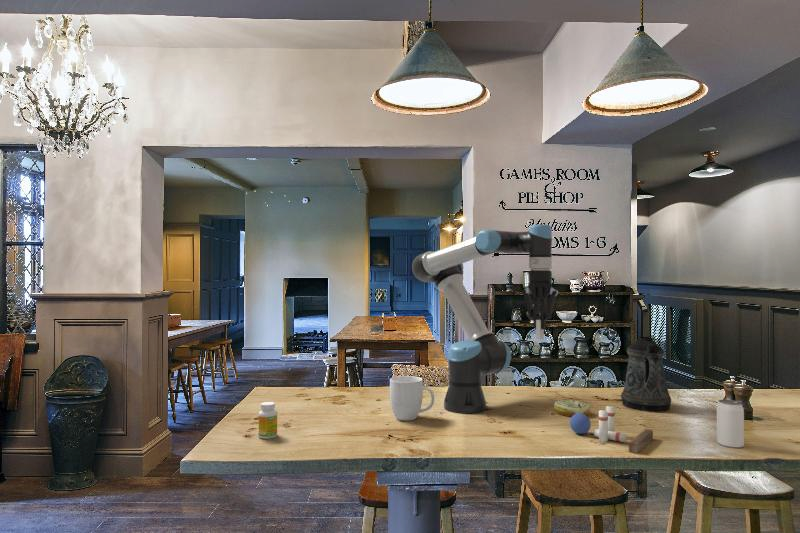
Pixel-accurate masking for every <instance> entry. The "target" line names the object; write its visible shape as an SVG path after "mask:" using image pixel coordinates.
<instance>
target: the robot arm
mask: <svg viewBox="0 0 800 533" xmlns="http://www.w3.org/2000/svg"><path fill="white" fill-rule="evenodd" d="M552 234H553V233H552V226H551V225H549V224H532V225H529V227H528V231H506V230H505V231H504V230H495V229H484V230H480V231H479V232H478V233H477V235H475V236H473V237H471V238H468V239H466V240H463V241H459V242H457V243H455V244H452V245H449V246H447V247H444V248H440V249H438V250H436V251H432V250H430V251H426V252H423V253H420V254H419V255H417V256H416V257H415V258H414V260H413V261H412V265H411V270H412V273H413V276H414V277H415V278H416V279H417V280H419V281H420V282H423V283H434V285H435V286H436V288H437V290H438V291H439V292H443V294H444V297H445V298H446V300H447V302H448V304H449V306H450V308H451V309H452V311H453V313H454V315H455V317H456V319H457V321H458V323H459V325H460V327H461V329H462V331H463V333H464V334H465V337H466V339H467V340H461V341H457V342H454V343H452V344H451V345H450V346H449V348H448V355H447V357H448V387H447V390H446V394H445V397H444V399H443V400H444V401H443V408H444V409H445V410H447V411H449V412H453V413H460V414H461V413H462V414H474V413H481V412H484V411H486V410H487V400H486V397H485V394H484V393H485V392H484V391H483V387H482V376H487V375H488V376H489V375H492V374H493V375H495V374H499V373H501V372H504V371H506V370H507V369H508V368H509V366H510V365H511V359H512V352H511V349H510V347H509V345H508V344H507V343H506V342H504V341H502V340H498V337H497V336H496V334H495V333H494V332H492V331H489V329H488V328H487V325H486V324H485V322H484V321H483V318H482V316H481V315H480V313H479V310H478V309H477V308H476V305H475V304H474V302H473V299H472V298H471V296H470V295H469V293H468V290H467V288H466V287H465V285H464V283H463V280H464V265H463V264H464V263H467V262H470V261H474V260H476V259H479V258H482V257H485V256H487V255H491V254H495V253H496V254H497V253H500V254H501V253H503V254H509V255H510V254H511V255H514V254H528V255H529V256H528V268H529V269H530V270H529V271H528V285H527V288H524V289H522V290H521V293H522V294H523V297H524V300H525V302H524V303H525V305H526V306H525V307H526V312H527V316H528V318H531V319H533V329H535V339H536V340H543V339H545V337H544V335H545V334H544V333H545V330H546V329H547V320H548V319H551V318H552V316H553V312H554V308H555V304H556V300H557V297H558V295H559V294H560V291H559V290H557V289H555V288H554V287H553V284H552V281H553V280H552V276H553V275H552V268H553V265H552V263H553V262H552V240H553V236H552ZM531 294H532V295H531ZM549 294H550V295H549ZM548 295H549V299H548Z"/></svg>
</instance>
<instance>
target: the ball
mask: <svg viewBox="0 0 800 533" xmlns="http://www.w3.org/2000/svg"><path fill="white" fill-rule="evenodd" d="M591 425H592V423H591V420H590V418H589V416H586V415H584V414H581V413H577V414H574V415H573V416H570V419H569V426H570V429H571V430H572V431H573V432H574V433H575V434H577V435H584V434H586V433H588V432H589V431H590V430H591V427H592V426H591Z"/></svg>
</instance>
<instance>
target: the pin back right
mask: <svg viewBox="0 0 800 533" xmlns="http://www.w3.org/2000/svg"><path fill="white" fill-rule="evenodd" d="M598 429H599V437H598V441H599V442H600V443H608V442H609V439H608V411H606V409H605V410H604V409H603V410H601V409H600V410H598Z"/></svg>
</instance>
